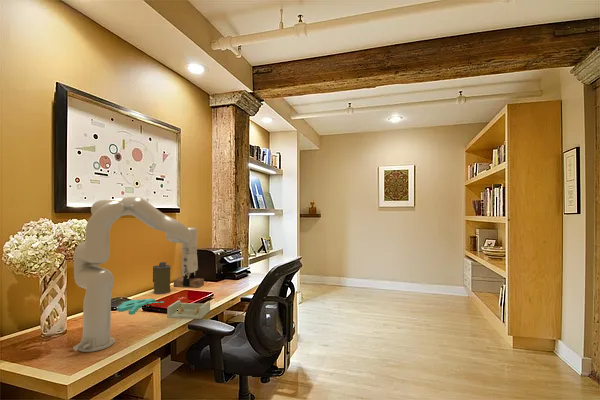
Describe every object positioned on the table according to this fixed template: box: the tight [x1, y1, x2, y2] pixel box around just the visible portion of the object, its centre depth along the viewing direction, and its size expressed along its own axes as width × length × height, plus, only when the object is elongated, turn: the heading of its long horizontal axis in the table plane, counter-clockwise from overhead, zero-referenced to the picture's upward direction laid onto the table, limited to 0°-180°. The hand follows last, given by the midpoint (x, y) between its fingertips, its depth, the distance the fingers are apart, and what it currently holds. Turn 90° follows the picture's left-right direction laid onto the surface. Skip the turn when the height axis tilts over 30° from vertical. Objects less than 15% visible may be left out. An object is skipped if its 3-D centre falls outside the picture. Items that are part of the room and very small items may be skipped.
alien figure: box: [116, 298, 165, 316], centre depth 178 cm, size 20×2×20 cm
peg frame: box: [166, 299, 211, 320], centre depth 165 cm, size 12×18×6 cm, turn 85°
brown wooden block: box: [173, 277, 205, 289], centre depth 165 cm, size 14×6×4 cm, turn 83°
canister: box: [152, 261, 172, 295], centre depth 210 cm, size 11×10×20 cm
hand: (189, 284), depth 165 cm, fingers closed on brown wooden block, 6 cm apart
